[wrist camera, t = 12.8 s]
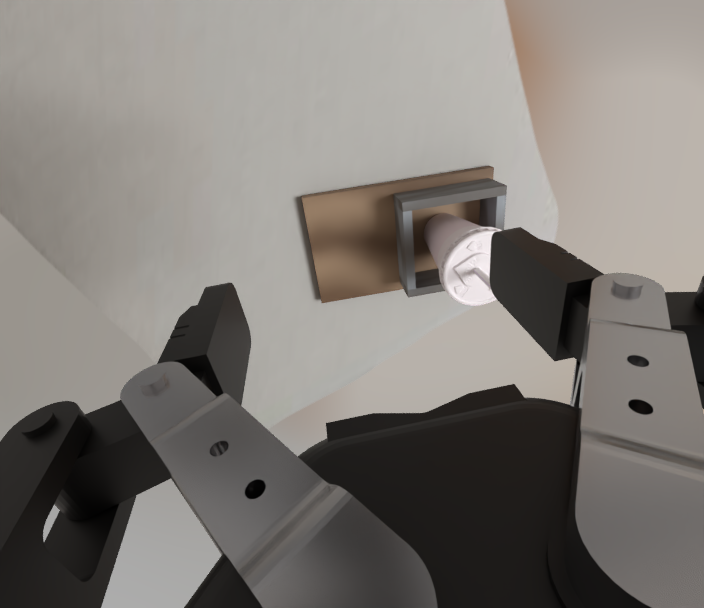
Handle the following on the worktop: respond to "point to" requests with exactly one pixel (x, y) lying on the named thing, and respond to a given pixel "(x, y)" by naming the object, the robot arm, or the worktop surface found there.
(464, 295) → the smoothie
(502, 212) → the caddy
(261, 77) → the worktop surface
